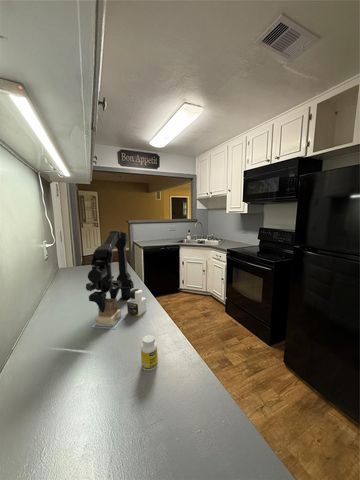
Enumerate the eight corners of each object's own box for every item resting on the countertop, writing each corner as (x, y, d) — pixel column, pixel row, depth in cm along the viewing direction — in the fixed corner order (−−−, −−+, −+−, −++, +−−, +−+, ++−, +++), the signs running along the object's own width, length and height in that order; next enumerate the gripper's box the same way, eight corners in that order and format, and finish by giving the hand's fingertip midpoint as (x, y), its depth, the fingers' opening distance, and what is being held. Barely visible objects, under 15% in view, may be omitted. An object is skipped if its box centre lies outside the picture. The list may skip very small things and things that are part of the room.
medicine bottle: (127, 314, 102) (125, 291, 101) (136, 308, 109) (135, 286, 107) (138, 317, 99) (136, 294, 97) (147, 310, 105) (145, 288, 104)
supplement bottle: (150, 373, 64) (149, 345, 63) (138, 367, 67) (136, 340, 66) (161, 362, 69) (159, 336, 67) (149, 357, 71) (147, 331, 70)
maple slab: (106, 316, 100) (105, 308, 99) (121, 317, 98) (120, 309, 98) (96, 325, 92) (96, 317, 91) (112, 326, 91) (112, 318, 90)
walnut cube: (106, 309, 98) (105, 298, 97) (117, 310, 97) (116, 298, 96) (99, 316, 92) (98, 303, 91) (111, 317, 91) (110, 304, 90)
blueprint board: (104, 315, 102) (104, 313, 102) (126, 316, 100) (126, 315, 100) (90, 328, 91) (90, 327, 90) (114, 330, 88) (114, 329, 88)
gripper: (100, 269, 102) (103, 298, 105) (75, 281, 84) (79, 316, 87) (120, 269, 100) (123, 299, 103) (99, 282, 82) (103, 318, 85)
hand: (108, 307), depth 94 cm, fingers open, 9 cm apart
